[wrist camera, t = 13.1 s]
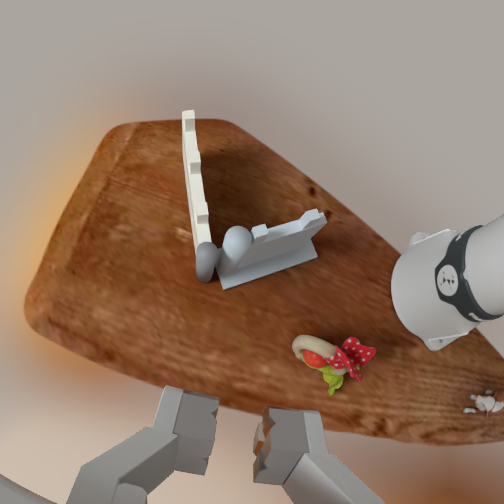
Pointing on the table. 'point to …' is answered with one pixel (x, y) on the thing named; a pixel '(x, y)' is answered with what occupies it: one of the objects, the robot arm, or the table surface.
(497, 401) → the bull figurine
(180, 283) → the table surface
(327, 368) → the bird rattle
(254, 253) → the grey toy wall
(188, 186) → the fence panel
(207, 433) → the robot arm
